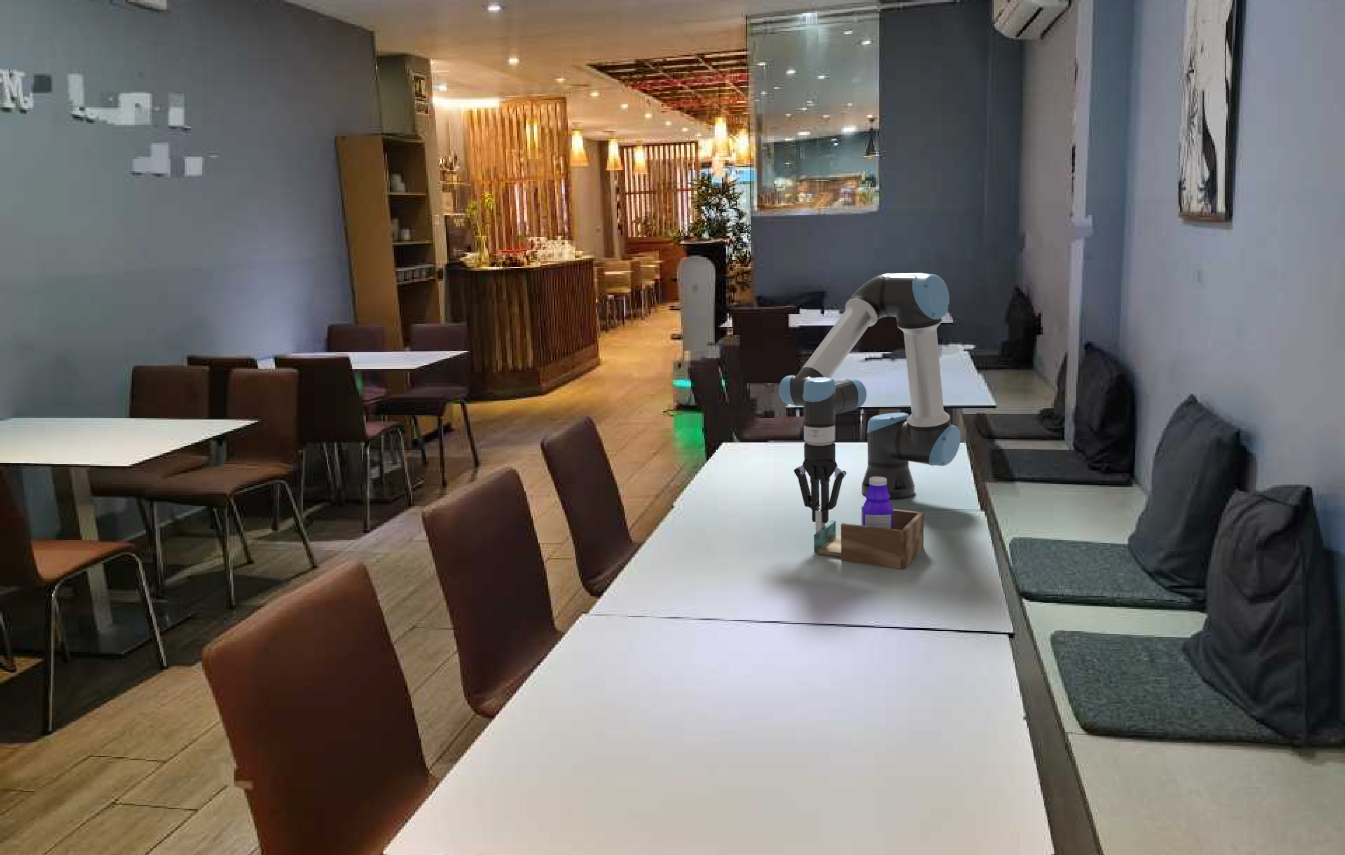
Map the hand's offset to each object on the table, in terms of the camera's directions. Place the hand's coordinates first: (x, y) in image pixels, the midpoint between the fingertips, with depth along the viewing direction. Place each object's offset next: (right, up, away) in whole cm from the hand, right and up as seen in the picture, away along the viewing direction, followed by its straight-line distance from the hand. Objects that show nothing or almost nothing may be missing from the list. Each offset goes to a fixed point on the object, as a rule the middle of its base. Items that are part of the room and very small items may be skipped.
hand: (820, 534), depth 238 cm
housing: (+14, -4, -7) cm, 16 cm away
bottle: (+13, -3, -7) cm, 15 cm away
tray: (+10, -3, -5) cm, 12 cm away
